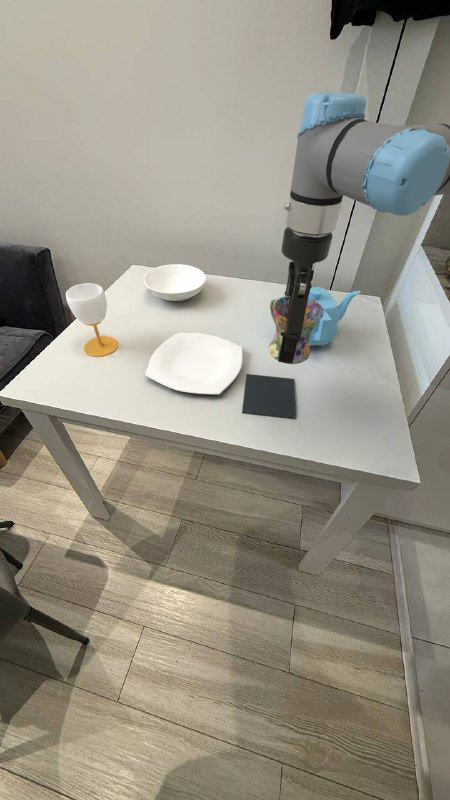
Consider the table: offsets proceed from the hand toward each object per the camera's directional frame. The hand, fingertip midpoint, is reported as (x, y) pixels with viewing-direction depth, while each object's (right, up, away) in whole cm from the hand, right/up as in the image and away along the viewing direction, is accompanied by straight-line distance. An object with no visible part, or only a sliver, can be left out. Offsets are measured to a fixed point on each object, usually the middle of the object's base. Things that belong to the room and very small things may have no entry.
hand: (285, 346), depth 67 cm
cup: (-46, +3, +22) cm, 51 cm away
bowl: (-28, +23, +42) cm, 56 cm away
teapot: (+12, +7, +28) cm, 31 cm away
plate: (-20, -2, +17) cm, 26 cm away
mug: (0, -1, +2) cm, 2 cm away
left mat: (-2, -10, +11) cm, 15 cm away
